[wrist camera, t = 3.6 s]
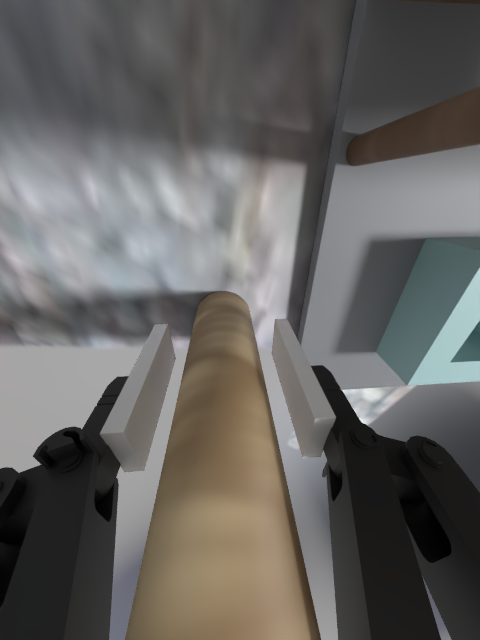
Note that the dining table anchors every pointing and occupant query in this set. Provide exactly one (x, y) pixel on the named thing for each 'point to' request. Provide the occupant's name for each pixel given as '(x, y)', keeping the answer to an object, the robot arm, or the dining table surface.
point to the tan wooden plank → (422, 127)
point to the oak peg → (223, 503)
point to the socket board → (399, 211)
